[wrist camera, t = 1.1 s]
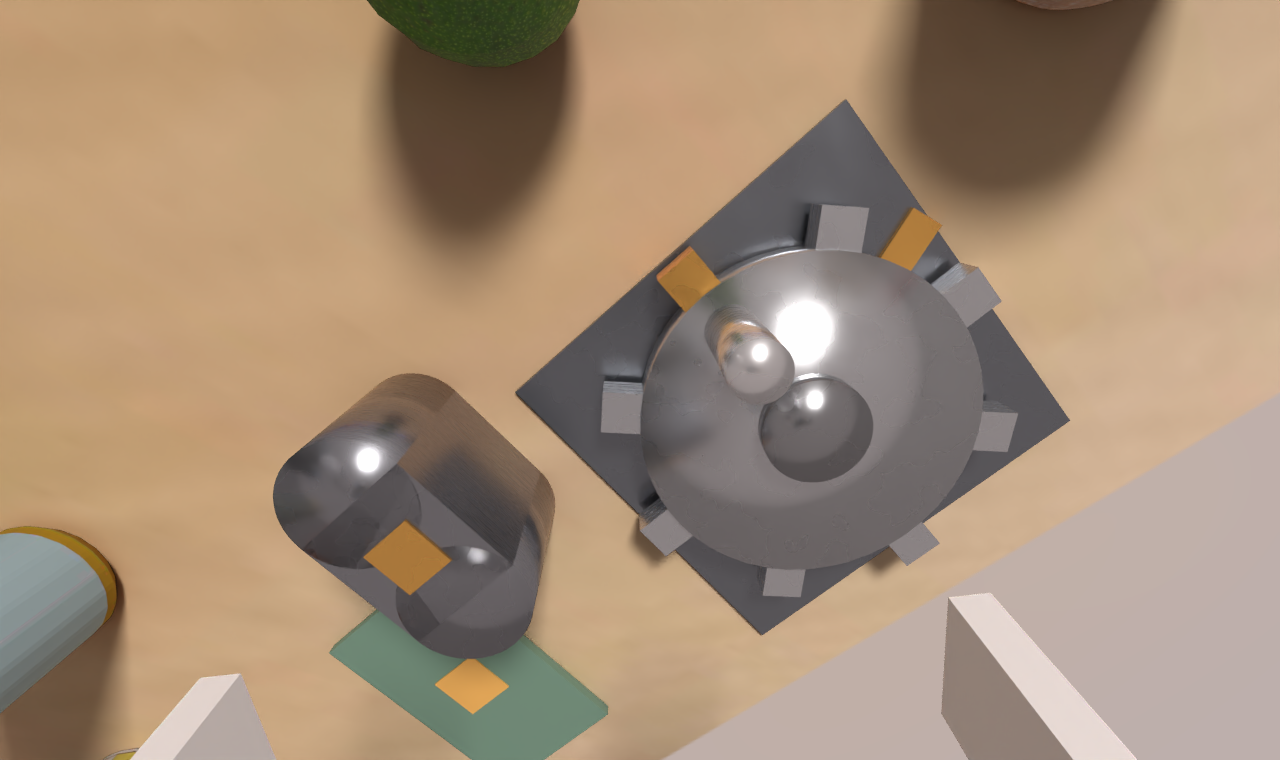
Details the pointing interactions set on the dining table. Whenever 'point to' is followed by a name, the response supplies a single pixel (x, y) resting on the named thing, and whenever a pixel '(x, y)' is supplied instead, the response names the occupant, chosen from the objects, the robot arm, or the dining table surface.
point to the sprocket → (809, 403)
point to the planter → (1062, 3)
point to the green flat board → (475, 692)
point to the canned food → (122, 755)
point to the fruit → (479, 27)
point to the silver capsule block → (423, 515)
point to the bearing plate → (745, 227)
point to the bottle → (47, 602)
